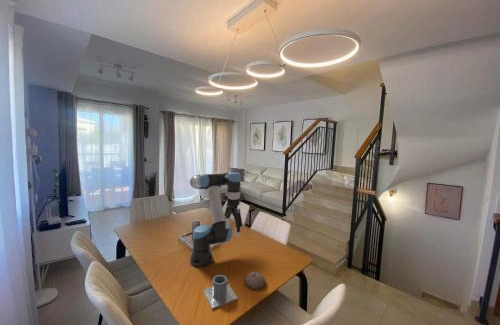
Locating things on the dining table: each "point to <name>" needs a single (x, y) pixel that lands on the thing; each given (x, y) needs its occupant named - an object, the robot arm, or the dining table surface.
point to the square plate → (217, 303)
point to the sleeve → (219, 286)
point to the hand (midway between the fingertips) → (232, 232)
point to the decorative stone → (254, 281)
